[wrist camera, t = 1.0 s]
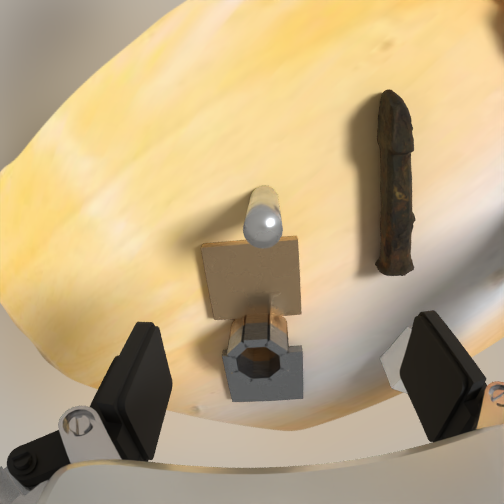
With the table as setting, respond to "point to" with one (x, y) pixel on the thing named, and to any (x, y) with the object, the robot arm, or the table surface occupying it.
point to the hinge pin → (263, 218)
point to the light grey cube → (396, 360)
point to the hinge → (257, 316)
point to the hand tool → (395, 185)
